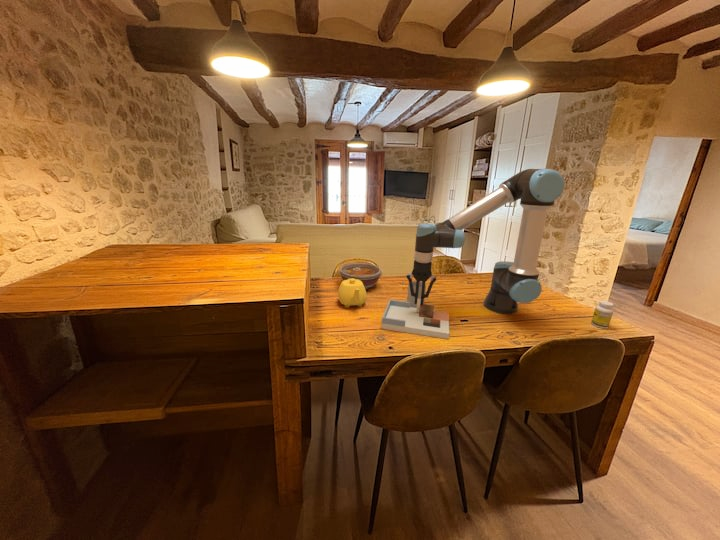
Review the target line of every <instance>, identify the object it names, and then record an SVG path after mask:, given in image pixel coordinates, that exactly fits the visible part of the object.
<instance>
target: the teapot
mask: <svg viewBox="0 0 720 540" xmlns="http://www.w3.org/2000/svg"><path fill="white" fill-rule="evenodd" d="M366 290H367V289H365V287H364V285H363V283H362V281H360V280H357V279H354V278H351V279H348V280H344V281H343V280H342V281H341V282H340V285H339V287H338V292H337V298H338V300H339V302H340V303H341V305H344V308H346V309H348V308H350V307H351V306H357V307H359V308H361V307H363V305H364V304H365V303H366V302H367V299H368V294H367V291H366Z"/></svg>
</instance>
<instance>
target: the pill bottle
mask: <svg viewBox="0 0 720 540" xmlns="http://www.w3.org/2000/svg"><path fill="white" fill-rule="evenodd" d="M613 307H614V303H612V302H611V301H607V300H599V303H598V304H597V305H596V306H595V308H594V312H593V313H592V314H593V315H592V318H591V322H590V323H591V325H592V326H594V327H596V328H600V329H608V328H609V325H610V323H611V321H612V317H613V314H614V309H613Z"/></svg>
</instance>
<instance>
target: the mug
mask: <svg viewBox="0 0 720 540" xmlns="http://www.w3.org/2000/svg"><path fill="white" fill-rule="evenodd" d="M412 282H413V288H414V293H415V291H416V280H414V281H413V280H412ZM421 292H422V282H421V281H420V282H419V292H418V296H421ZM426 292H427V284H426V283H425V292H424V294H426ZM406 298H407V299H406V302H410V307H412V308H417V304H415V297H414V296H411V292H410V286H409V283H408V287H407V297H406ZM425 300H426V298H424V301H423V304H425V302H426V301H425Z"/></svg>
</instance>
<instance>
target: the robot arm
mask: <svg viewBox="0 0 720 540" xmlns="http://www.w3.org/2000/svg"><path fill="white" fill-rule="evenodd" d="M564 190H565V179H564V177H563V176H562V174H561V173H560V172H559V171H557V170H555V169H550V168H527V169H524V170H522V171H520V172H517V173H516V174H514V175H512V176H511V177H509V178H508V179H507V180H505V181H503V182H502V183H501V182H500V184H499V186H498V187H497V188H496V189H495V190H492V191H491V192H489V193H488V194H486V195H485V196H482V197H481V198H480V199H478V200H476V201H475V202H473V203H472V204H469V206H467V207H465V208H463V209H462V210H460V211H459V212H458V213H456V214H454V215H453V216H451V217H449V218H448V219H446V220H444V221H442V222H436V223H434V224H433V223H427V222H426V223H425V222H424V223H419V224H417V227H416V233H415V245H414V247H415V248H414V256H413V258H414V260H413V266H412V267H413V268H412V271H411V272H410V273H407V274H406V278H407V281H408V284H409V286H410V292H411V296H414V297H415V304H417V309H416V312H419V310H420V305H423V301H424V298H425V299H427V298H429V297H430V293H431V290H432V287H433V285H434V283H436V281H437V276H434V275H433V272H432V265H433V262H432V261H433V256H434V248H438V249H439V248H440V249H441V248H443V249H444V248H445V249H446V248H447V249H461V248H463V247H464V245H465V242H466V235H465V234H466V233H465V232H464V230H465V229H466V228H468V227H469V226H471V225H473V224H475V223H476V222H478V221H479V220H481V219H483V218H485V217H486V216H488V215H489V214H491V213H493V212H494V211H496V210H498V209H499V208H501V207H504V206H505V205H506V204H508V203H509V204H512V203H514V202H516V201H518V200H520V201H519V202H520V203H519V205H520V206H521V207H522V215H521V219H520V226H519V230H518V231H519V232H518V237H517V243H516V248H515V252H514V253H515V254H514V259H513V261H503V260H502V261H497V262H495V264H494V267H493V272H492V276H491V277H492V278H491V282H490V283H491V284H490V289H489V291H488V293H487V295H486V297H485V298H484V301H483V306H484V307H485V308H486V309H487V310H489V311H491V312H495V313H498V314H504V315H507V314H508V315H510V314H516V312H518V307H519V304H518V303H520V304H528V303H531V302H533V301H534V300H537V299H538V298H539V296H541V293H542V290H543V289H542V285H541V282H539V277H540V271H539V270H538V268H537V264H538V260H539V255H540V251H541V246H542V241H543V237H544V236H543V235H544V231H545V226H546V221H547V218H548V217H547V216H548V213H549V210H550V209H552V208H553V207H554V205H555V202H556V200H558V198H559V197H561V196H562V194H563V192H564ZM413 279H415V280H414V281H416V291H415V293H414V288H413V282H412V281H413ZM429 280H430V281H429ZM427 281H429V285H428V287H427V288H426V292H425V284H426V282H427ZM419 282H422V292H421V296H418V292H419ZM424 292H425V294H424Z"/></svg>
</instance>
